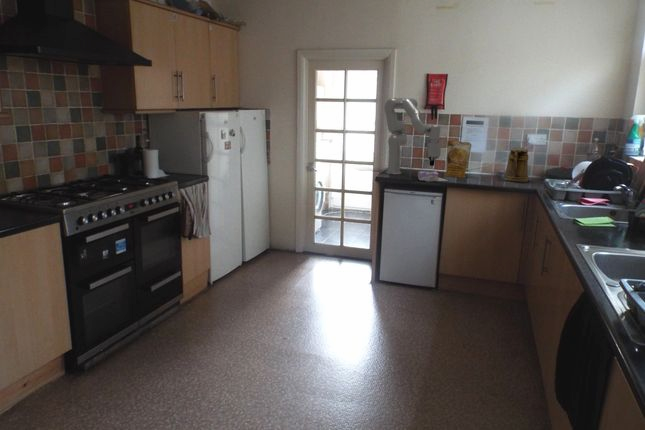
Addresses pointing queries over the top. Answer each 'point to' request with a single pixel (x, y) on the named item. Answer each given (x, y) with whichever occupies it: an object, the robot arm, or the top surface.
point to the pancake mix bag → (457, 158)
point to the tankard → (517, 166)
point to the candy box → (428, 175)
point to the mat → (438, 180)
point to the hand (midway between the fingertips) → (431, 165)
